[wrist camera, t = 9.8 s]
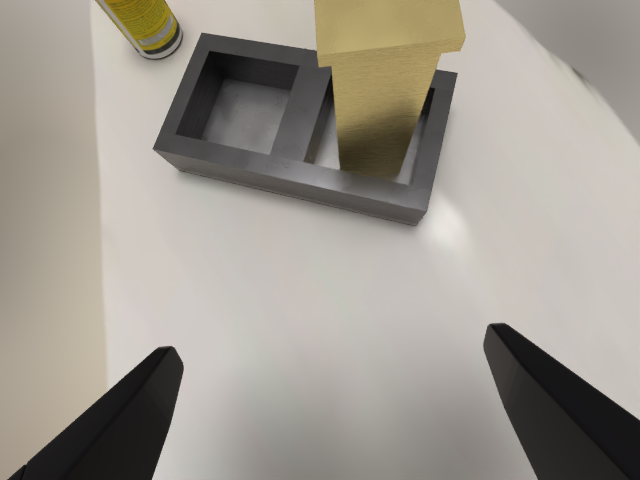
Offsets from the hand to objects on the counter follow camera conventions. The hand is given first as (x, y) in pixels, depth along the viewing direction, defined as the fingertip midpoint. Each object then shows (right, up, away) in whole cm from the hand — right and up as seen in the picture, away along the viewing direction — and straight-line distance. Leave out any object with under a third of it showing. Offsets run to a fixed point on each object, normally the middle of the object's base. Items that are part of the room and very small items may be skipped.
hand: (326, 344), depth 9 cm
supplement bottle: (-16, +22, +21) cm, 34 cm away
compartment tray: (-1, +11, +17) cm, 20 cm away
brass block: (+4, +10, +16) cm, 19 cm away
